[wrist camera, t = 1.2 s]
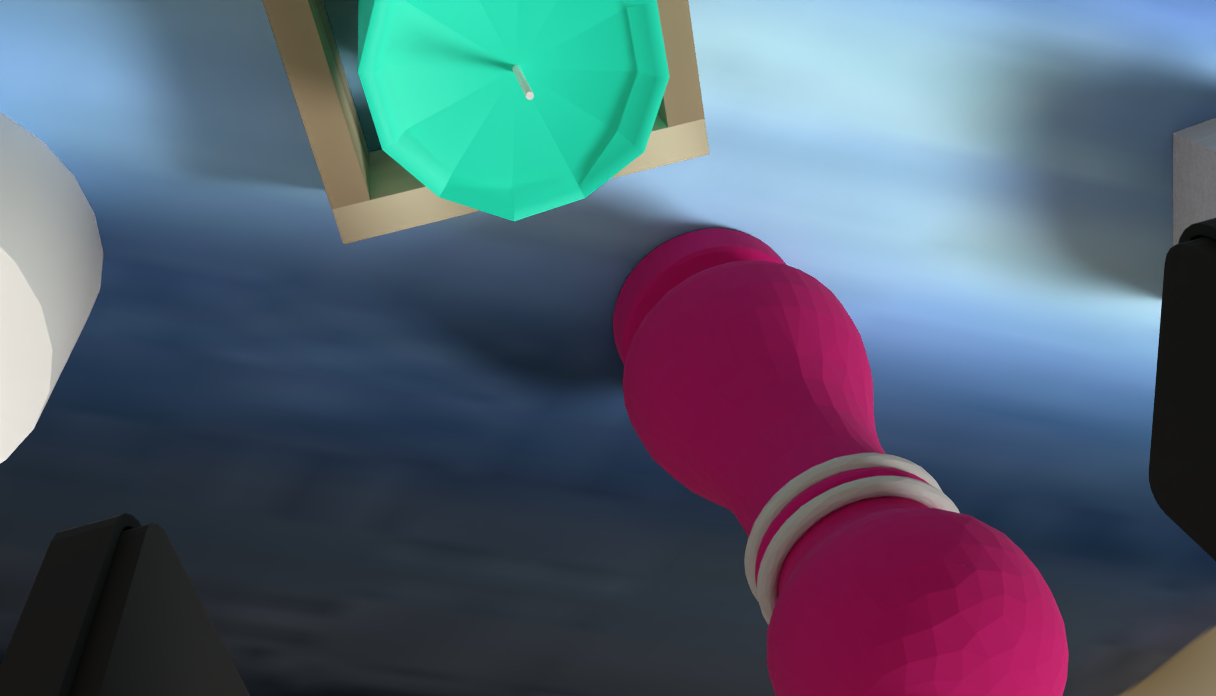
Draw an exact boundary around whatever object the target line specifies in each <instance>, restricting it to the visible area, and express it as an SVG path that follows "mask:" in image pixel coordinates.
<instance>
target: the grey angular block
mask: <svg viewBox="0 0 1216 696" xmlns="http://www.w3.org/2000/svg"><path fill="white" fill-rule="evenodd" d="M1213 218H1216V118H1214V119H1211V120H1208V121H1205V122H1202V123H1199V124H1196V125H1193V126H1190V127H1187V128H1185V129H1182V130H1179V131H1176V132H1173V246H1175V245H1176V244H1178V242H1179V238H1180V236H1181V235H1182V233H1183V231H1184V229H1186V228H1187V227H1189V226H1190V225H1191V224H1194V223H1198V222H1202V221H1205V220H1209V219H1213Z"/></svg>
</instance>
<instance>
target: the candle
mask: <svg viewBox="0 0 1216 696" xmlns="http://www.w3.org/2000/svg"><path fill="white" fill-rule="evenodd" d="M358 74H359V77H360V81H361V84H362V87H363V90H364V93H365V97H366V100H367V103H368V106H369V109H370V112H371V116H372V119H373V122H374V125H375V128H376V132H377V135H378V138H379V141H380V144H381V148H382V150H383V151H384V152H386V153H387V154H388V155H389V156H390V157H392V158H393V159H394V160H395V161H396V162H397V163H399V164H400V165H401V166H402V167H403V168H405V169H406V170H407V171H408V172H409V173H410V174H412V175H413V176H414V177H415V178H416V179H418V180H419V181H420V182H421V183H422V184H423V185H425V186H426V187H427V188H428V189H429V190H431V191H432V192H433V193H434V194H435V195H437V196H438V197H439V198H442V199H445V200H448V201H452V202H455V203H458V204H461V205H464V206H467V207H470V208H473V209H477V210H480V211H483V212H486V213H489V214H492V215H495V216H498V217H502V218H505V219H508V220H511V221H517V220H520V219H523V218H526V217H529V216H532V215H535V214H539V213H542V212H545V211H548V210H551V209H554V208H557V207H560V206H563V205H566V204H569V203H572V202H575V201H578V200H581V199H584V198H586V197H587V196H589V195H590V194H591V193H593V192H594V191H595V190H596V189H598V188H599V187H600V186H602V185H603V184H604V183H605V182H607V181H608V180H609V179H611V178H612V177H613V176H614V175H616V174H617V173H618V172H620V171H621V170H622V169H623V168H625V167H626V166H627V165H629V164H630V163H631V162H632V161H634V160H635V159H636V158H638V157H639V156H640V155H641V154H643V153H644V152H645V149H646V146H647V143H648V140H649V137H650V134H651V131H652V128H653V125H654V122H655V119H656V116H657V113H658V110H659V107H660V104H661V101H662V98H663V95H664V92H665V89H666V86H667V83H668V80H669V77H670V76H669V70H668V64H667V58H666V52H665V46H664V40H663V34H662V28H661V23H660V17H659V11H658V5H657V0H358Z"/></svg>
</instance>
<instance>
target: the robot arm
mask: <svg viewBox="0 0 1216 696" xmlns="http://www.w3.org/2000/svg"><path fill="white" fill-rule="evenodd" d="M1149 482H1150V486H1151V490H1152V493H1153V495H1154V498H1155V500H1156V501H1157V503H1158V505H1159V506H1160V508H1161V509H1162V510H1163V511H1164V512H1165V514H1166V515H1167V516H1169V517H1170V518H1171V519H1172V520H1173V521H1174V522H1175V523H1176V524H1177V525H1178V526H1179V527H1180V528H1181V529H1182V530H1183V531H1184V532H1185V533H1187V534H1188V535H1189V536H1190V537H1191V538H1192V539H1193V540H1194V541H1195V542H1196V543H1197V544H1198V545H1199V546H1200V547H1201V548H1202V549H1203V550H1204V551H1206V552H1207V553H1208V554H1209V555H1210V556H1211V557H1212V558H1213V559H1214V560H1215V561H1216V218H1213V219H1209V220H1205V221H1202V222H1198V223H1194V224H1191V225H1190V226H1189V227H1187V228H1186V229H1184V231H1183V233H1182V235H1181V236H1180V238H1179V242H1178V244H1176V245H1175V246H1173V247H1172V248H1170V250H1169V252H1168V254H1167V256H1166V261H1165V268H1164V281H1163V294H1162V308H1161V321H1160V334H1159V347H1158V360H1157V373H1156V386H1155V399H1154V412H1153V425H1152V438H1151V451H1150V464H1149ZM0 696H250V695H249V693H248V691H247V689H246V687H245V685H244V683H243V681H242V679H241V677H240V675H239V673H238V671H237V669H236V668H235V666H234V664H233V662H232V660H231V658H230V656H229V654H228V652H227V650H226V648H225V646H224V644H223V642H222V641H221V639H220V637H219V635H218V633H217V631H216V629H215V627H214V625H213V623H212V621H211V619H210V617H209V615H208V614H207V612H206V610H205V608H204V606H203V604H202V602H201V600H200V598H199V596H198V594H197V592H196V590H195V588H194V587H193V585H192V583H191V581H190V579H189V577H188V575H187V573H186V571H185V569H184V567H183V565H182V563H181V561H180V559H179V558H178V556H177V554H176V552H175V550H174V548H173V546H172V544H171V542H170V540H169V538H168V536H167V535H166V533H165V532H164V530H163V529H162V528H161V527H160V526H159V525H158V524H155V523H151V524H148V525H144V526H141V525H140V523H139V521H137V520H136V519H135V518H134V517H133V516H132V515H129V514H126V513H124V514H121V515H117V516H113V517H110V518H106V519H102V520H99V521H95V522H91V523H88V524H84V525H80V526H76V527H73V528H69V529H65V530H62V531H60V532H58V533H56V535H55V536H54V538H53V539H52V541H51V543H50V546H49V548H48V550H47V553H46V555H45V558H44V560H43V563H42V565H41V568H40V570H39V573H38V575H37V577H36V580H35V582H34V585H33V587H32V590H31V592H30V595H29V597H28V600H27V602H26V605H25V607H24V609H23V612H22V614H21V617H20V619H19V622H18V624H17V627H16V629H15V632H14V634H13V636H12V639H11V641H10V644H9V646H8V649H7V651H6V654H5V656H4V659H3V661H2V664H1V666H0Z"/></svg>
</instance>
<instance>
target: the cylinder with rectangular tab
mask: <svg viewBox="0 0 1216 696" xmlns="http://www.w3.org/2000/svg"><path fill="white" fill-rule="evenodd" d="M102 263H103V249H102V244H101V240H100V235H99V231H98V226H97V222H96V217H95V214H94V212H93V210H92V208H91V206H90V204H89V202H88V201H87V199H86V197H85V195H84V193H83V191H82V189H81V187H80V186H79V184H78V182H77V180H76V178H75V176H74V175H73V174H72V173H71V172H70V171H69V170H68V169H67V167H66V166H65V165H64V164H63V163H62V162H61V161H60V160H59V159H58V157H57V156H56V155H55V154H54V153H53V152H52V151H51V150H50V149H49V147H48V146H47V145H46V144H45V143H44V142H43V141H41V140H40V139H39V138H37V137H36V136H34V135H33V134H32V133H30V132H29V131H27V130H26V129H25V128H23V127H22V126H20V125H19V124H18V123H16V122H15V121H13V120H12V119H11V118H9V117H8V116H6V115H5V114H3V113H1V112H0V463H2V462H3V461H5V460H6V459H7V458H8V457H9V456H10V455H11V453H12V452H13V451H14V450H15V449H16V448H17V447H18V446H19V445H20V443H21V442H22V441H23V440H24V439H25V438H26V437H27V436H28V435H29V433H30V432H31V431H32V430H33V429H34V427H35V425H36V423H37V421H38V419H39V417H40V415H41V413H42V411H43V409H44V407H45V405H46V403H47V400H48V398H49V396H50V394H51V392H52V390H53V388H54V386H55V384H56V382H57V380H58V378H59V376H60V374H61V372H62V370H63V368H64V366H65V364H66V362H67V360H68V358H69V356H70V354H71V352H72V350H73V348H74V346H75V343H76V341H77V339H78V337H79V335H80V333H81V331H82V329H83V327H84V325H85V323H86V321H87V319H88V316H89V314H90V312H91V309H92V307H93V305H94V303H95V300H96V298H97V296H98V293H99V291H100V286H101V275H102Z"/></svg>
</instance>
